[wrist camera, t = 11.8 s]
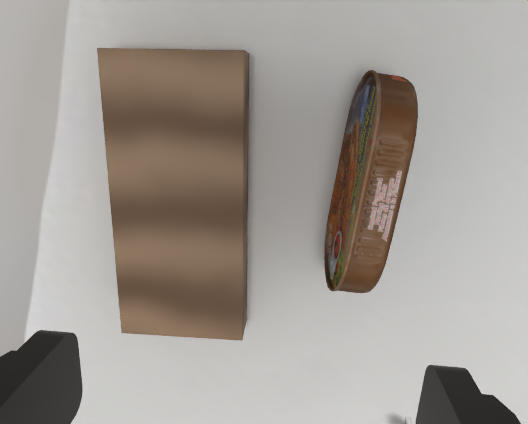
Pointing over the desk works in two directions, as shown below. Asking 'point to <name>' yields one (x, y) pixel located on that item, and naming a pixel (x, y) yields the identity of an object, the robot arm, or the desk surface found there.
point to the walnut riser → (178, 188)
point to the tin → (370, 181)
